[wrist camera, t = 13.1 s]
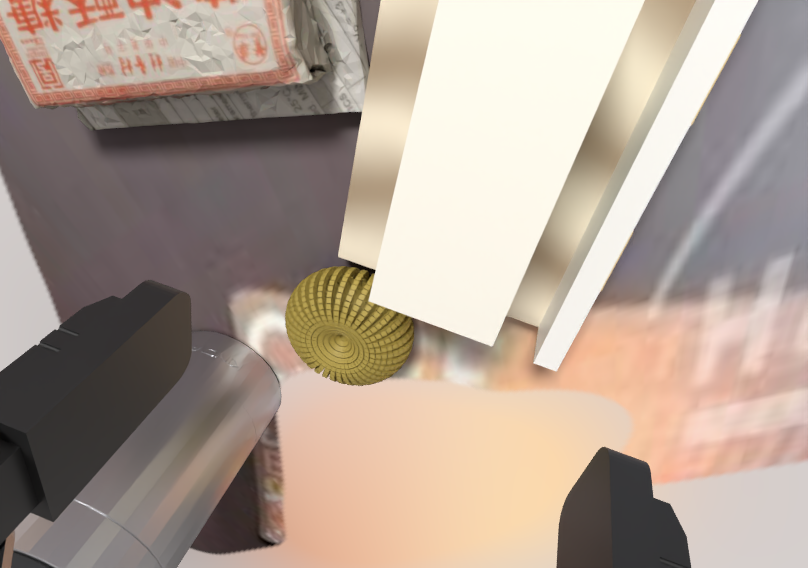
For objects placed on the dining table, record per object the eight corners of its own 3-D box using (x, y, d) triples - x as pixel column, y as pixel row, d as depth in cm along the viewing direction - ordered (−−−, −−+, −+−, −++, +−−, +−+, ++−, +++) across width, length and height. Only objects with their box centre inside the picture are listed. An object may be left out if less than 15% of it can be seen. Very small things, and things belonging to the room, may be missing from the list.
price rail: (563, 335, 30) (560, 372, 28) (538, 327, 30) (533, 363, 28) (814, -142, 18) (847, -149, 15) (769, -152, 18) (795, -162, 15)
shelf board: (561, 318, 31) (559, 334, 30) (347, 244, 33) (337, 256, 32) (794, -140, 19) (807, -143, 18) (431, -230, 20) (421, -239, 19)
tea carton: (644, -47, 20) (661, -29, 15) (515, 261, 29) (494, 347, 23) (496, -90, 21) (459, -88, 15) (412, 225, 29) (368, 301, 24)
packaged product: (38, 152, 30) (-71, -66, 25) (102, 124, 34) (20, -69, 28) (347, 135, 24) (289, -153, 19) (381, 103, 28) (342, -142, 23)
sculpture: (291, 391, 36) (258, 287, 31) (316, 351, 39) (289, 251, 34) (411, 406, 33) (393, 295, 29) (427, 361, 36) (413, 256, 32)
